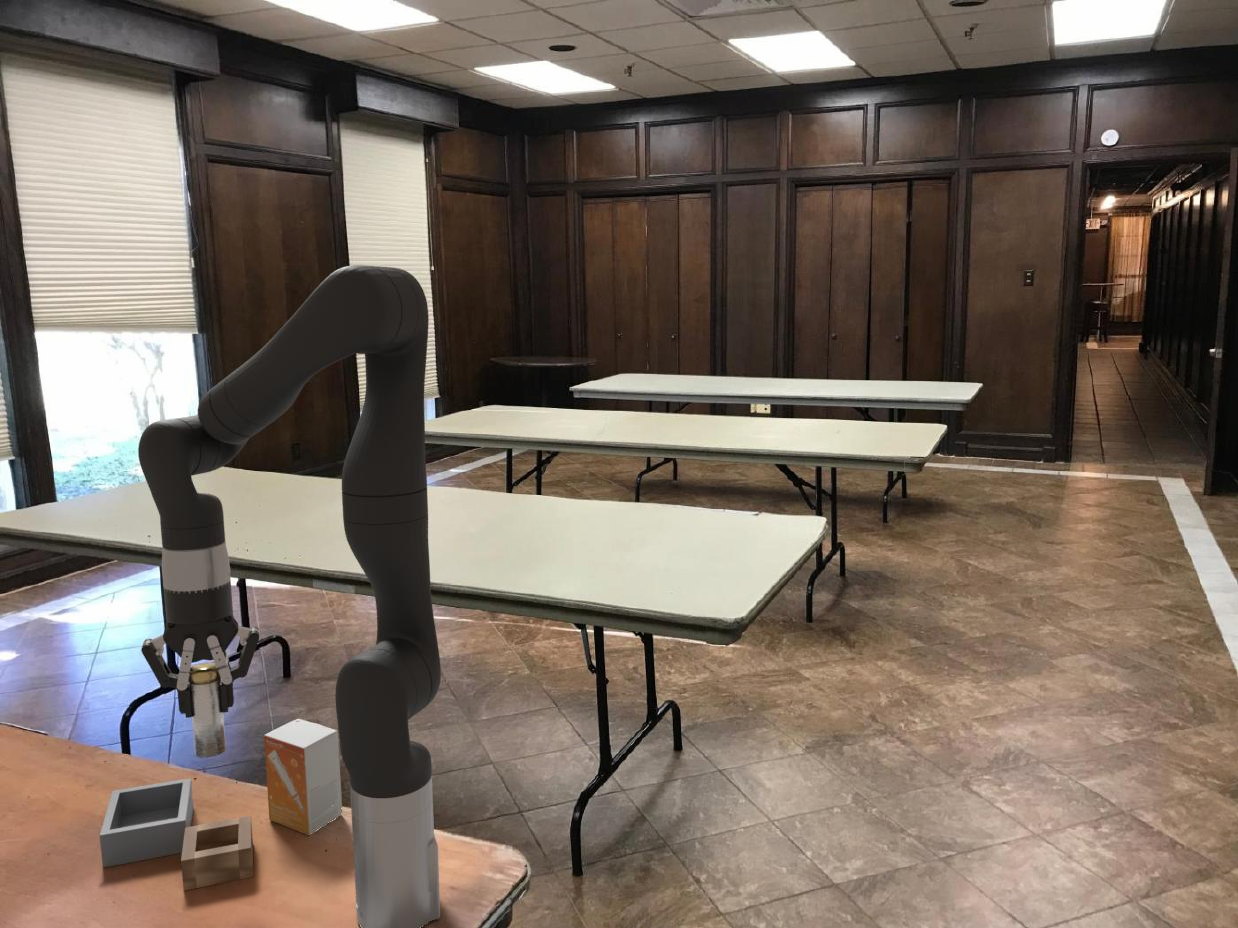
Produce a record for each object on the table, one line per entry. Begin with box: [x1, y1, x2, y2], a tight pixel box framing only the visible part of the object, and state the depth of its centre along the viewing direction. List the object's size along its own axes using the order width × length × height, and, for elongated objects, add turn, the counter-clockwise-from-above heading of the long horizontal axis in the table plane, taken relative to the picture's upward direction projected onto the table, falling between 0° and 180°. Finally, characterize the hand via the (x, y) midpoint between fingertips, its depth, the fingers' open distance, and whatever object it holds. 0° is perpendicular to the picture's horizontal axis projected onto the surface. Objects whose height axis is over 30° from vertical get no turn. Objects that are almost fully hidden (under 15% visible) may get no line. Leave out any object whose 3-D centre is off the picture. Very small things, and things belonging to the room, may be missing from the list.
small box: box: [263, 718, 343, 836], centre depth 131 cm, size 8×6×13 cm
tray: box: [99, 777, 194, 869], centre depth 128 cm, size 10×12×4 cm
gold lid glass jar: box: [188, 662, 227, 759], centre depth 118 cm, size 4×4×11 cm
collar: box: [180, 815, 254, 891], centre depth 121 cm, size 8×8×4 cm
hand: (207, 711), depth 118 cm, fingers closed on gold lid glass jar, 3 cm apart
